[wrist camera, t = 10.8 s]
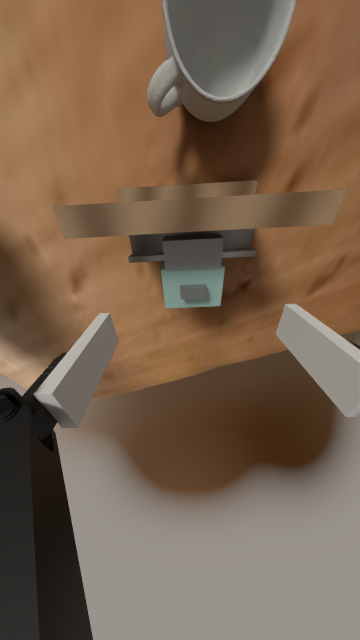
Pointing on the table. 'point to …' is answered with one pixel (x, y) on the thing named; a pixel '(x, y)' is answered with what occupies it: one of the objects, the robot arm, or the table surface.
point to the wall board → (196, 215)
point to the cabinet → (192, 270)
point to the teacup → (217, 53)
